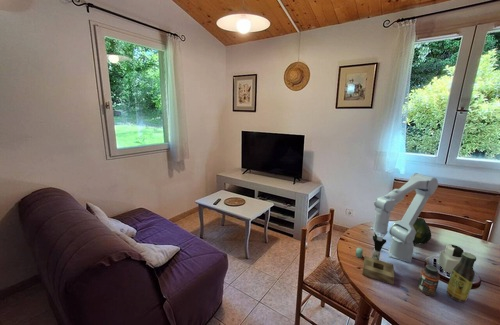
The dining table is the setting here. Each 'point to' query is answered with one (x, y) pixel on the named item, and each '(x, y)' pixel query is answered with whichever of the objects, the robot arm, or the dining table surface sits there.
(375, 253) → the long pin
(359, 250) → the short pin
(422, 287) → the supplement bottle
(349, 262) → the dining table surface
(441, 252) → the medicine bottle
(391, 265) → the hole block
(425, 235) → the squash
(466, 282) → the sauce bottle
